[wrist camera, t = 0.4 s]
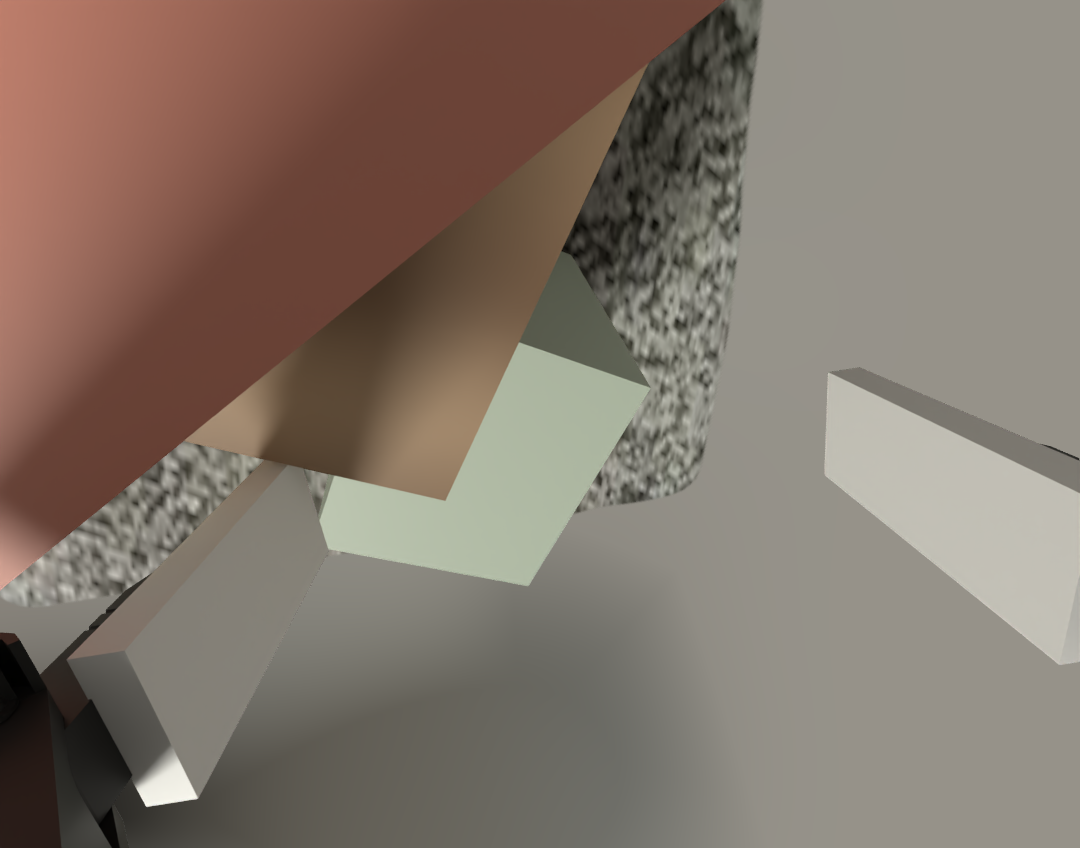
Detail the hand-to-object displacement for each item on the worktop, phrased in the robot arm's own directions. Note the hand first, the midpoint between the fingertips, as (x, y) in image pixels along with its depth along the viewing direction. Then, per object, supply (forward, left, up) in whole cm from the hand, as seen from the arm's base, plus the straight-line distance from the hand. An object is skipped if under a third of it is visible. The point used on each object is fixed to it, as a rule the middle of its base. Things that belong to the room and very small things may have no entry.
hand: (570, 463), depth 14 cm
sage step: (+9, +1, -30) cm, 31 cm away
